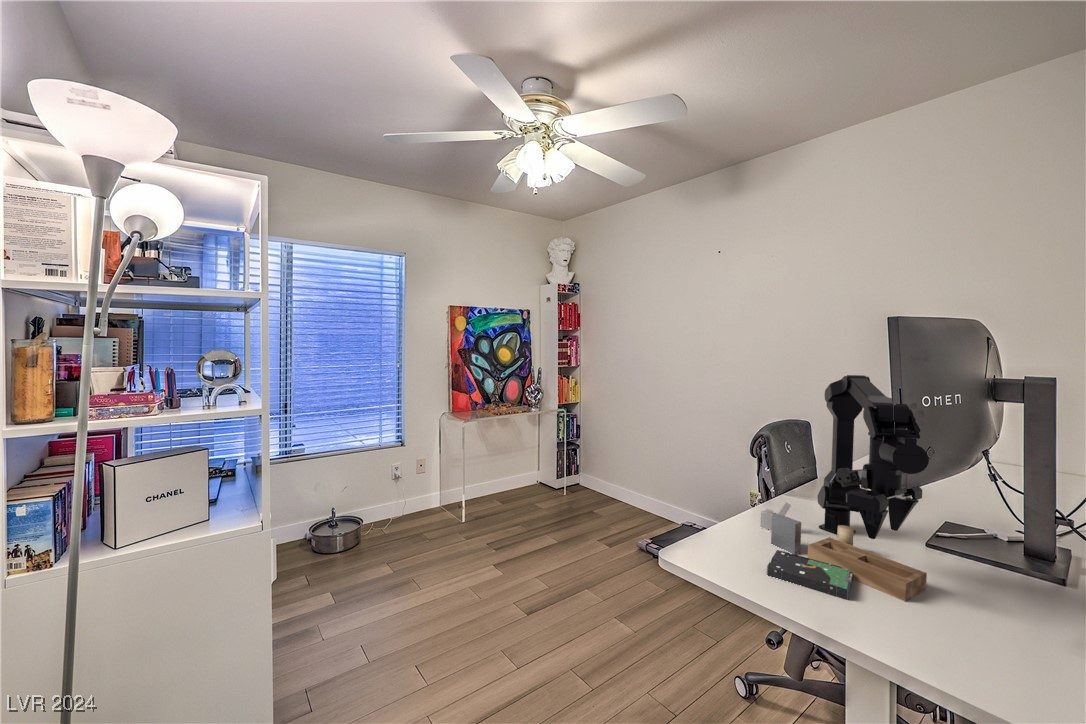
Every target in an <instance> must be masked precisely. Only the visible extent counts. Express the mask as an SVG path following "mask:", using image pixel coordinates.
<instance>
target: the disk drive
mask: <svg viewBox="0 0 1086 724" xmlns="http://www.w3.org/2000/svg"><path fill="white" fill-rule="evenodd" d="M766 567H767V568H766V576H767V575H768V577H770V576H771V578H773V577H775V578H774V579H776V578H778V579H777V580H779V579H781V580H780V581H783V580H784V581H783V582H786V581H788V582H787V583H790V582H791V583H790V584H793V583H794V584H793V585H796V584H797V586H800V585H801V587H803V588H807V589H810V590H813V591H816V592H820V593H823V594H827V595H829V596H832V597H836V598H838V599H843V600H846V601H849V599H850V594H851V589H852V584H853V581H854V579H853V572H852V571H851V570H848V569H845V568H842V567H839V566H836V565H832V564H828V563H824V562H821V561H817V560H813V559H809V558H808V557H806V556H801V555H799V554H792V553H789V552H787V551H785V550H780V549H779V550H778V549H776V550H775V552H774V554H773V556H772V558H771V559H770V561H769V563H768V564H767V566H766Z"/></svg>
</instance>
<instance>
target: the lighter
mask: <svg viewBox="0 0 1086 724" xmlns="http://www.w3.org/2000/svg"><path fill="white" fill-rule="evenodd" d="M791 507H792V505H791V504H790V503H789V502H787V501H786V502H785V503H784V505H782V508H781V509H780V510H779V512H778V513H775V511H774V509H772V508H771V509H770V508H765V509H763V510H760V522H759V523H760V524H759V525H760V526H759V527H762V528H765V529H764V530H767V529H770V530H769V531H771V530H772V515H775V514H780V515H783V516H786V514H787V513H788V511H789V510H790V508H791ZM762 528H761V529H762Z"/></svg>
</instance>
